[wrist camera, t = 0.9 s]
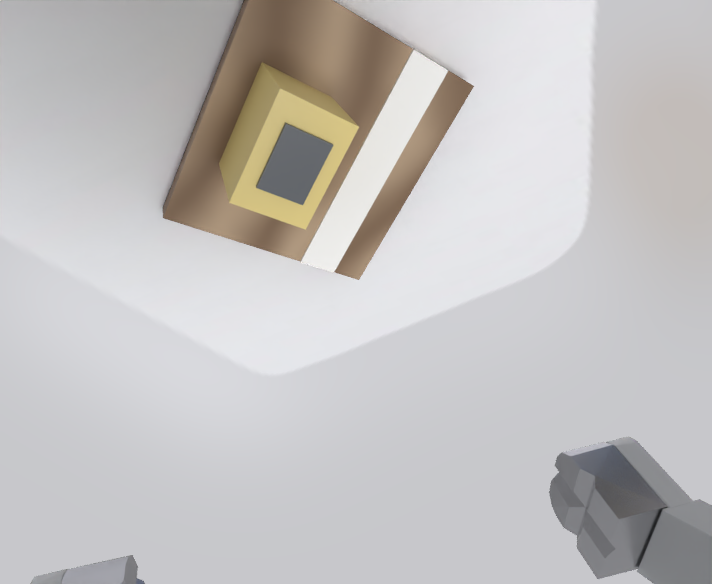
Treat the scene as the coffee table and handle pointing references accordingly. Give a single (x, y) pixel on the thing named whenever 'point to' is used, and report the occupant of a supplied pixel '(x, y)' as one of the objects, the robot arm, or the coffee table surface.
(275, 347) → the coffee table surface
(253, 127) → the block
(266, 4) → the board
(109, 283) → the coffee table surface
